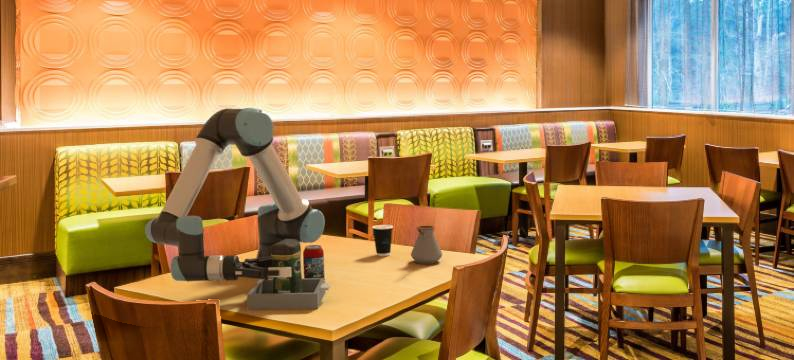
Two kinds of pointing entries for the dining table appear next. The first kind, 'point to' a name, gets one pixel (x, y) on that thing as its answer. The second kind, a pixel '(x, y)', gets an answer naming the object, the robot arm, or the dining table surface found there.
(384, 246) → the dixie cup
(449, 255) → the dining table surface
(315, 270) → the beverage can
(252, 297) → the tray
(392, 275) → the dining table surface
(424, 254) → the coffee pot
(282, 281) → the coffee jar
